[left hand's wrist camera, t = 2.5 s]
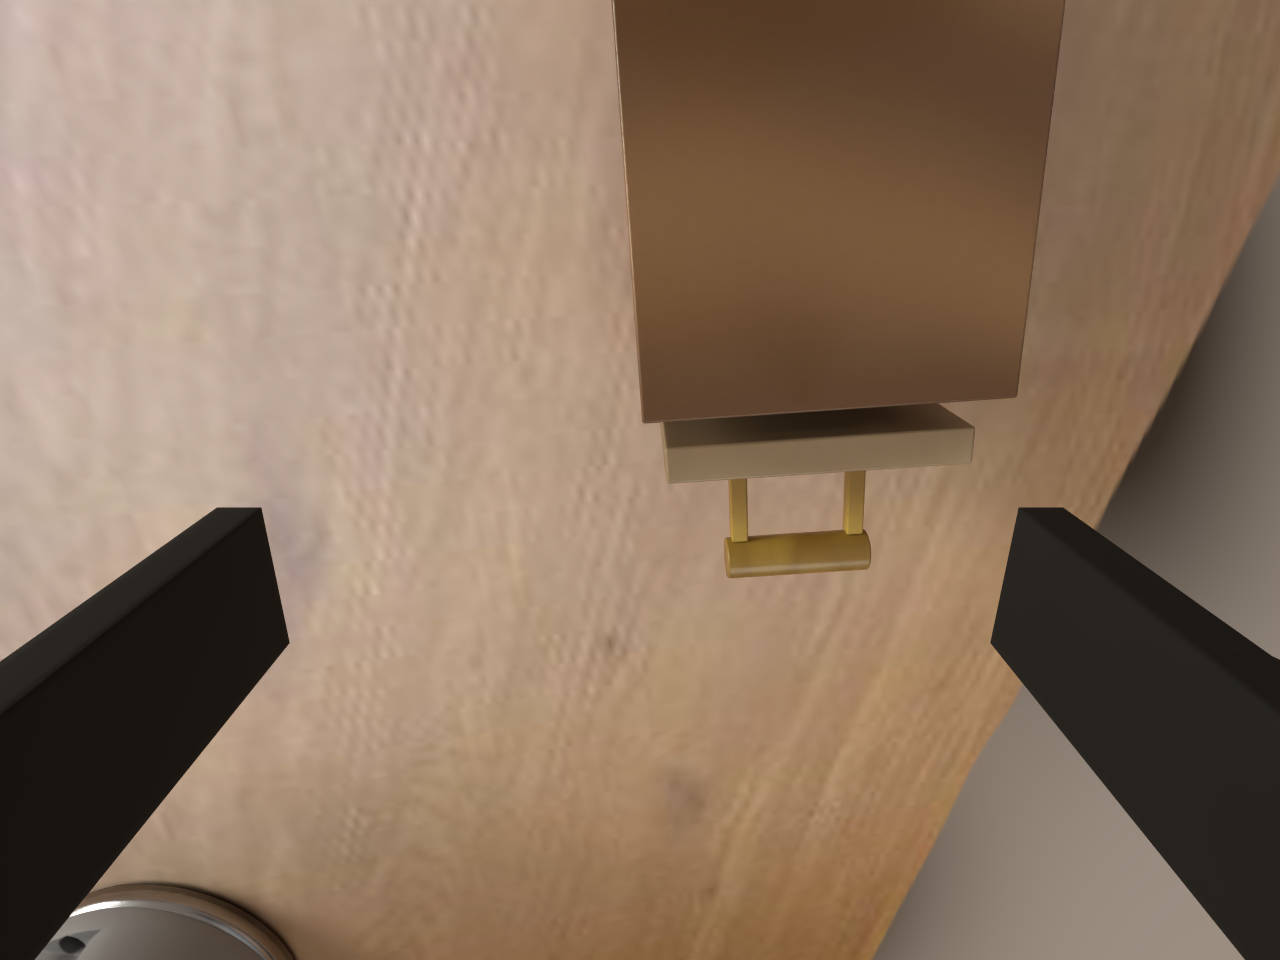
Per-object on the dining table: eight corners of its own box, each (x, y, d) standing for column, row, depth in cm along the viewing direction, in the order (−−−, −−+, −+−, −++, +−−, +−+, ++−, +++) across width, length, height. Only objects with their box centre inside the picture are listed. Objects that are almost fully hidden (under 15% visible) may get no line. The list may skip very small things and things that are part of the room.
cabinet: (896, 337, 29) (1017, 398, 20) (640, 355, 30) (642, 424, 20) (927, -194, 23) (1124, -466, 14) (603, -166, 23) (581, -415, 14)
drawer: (880, 513, 31) (957, 609, 24) (666, 527, 31) (675, 627, 24) (912, -70, 24) (1041, -200, 16) (629, -47, 24) (626, -163, 16)
